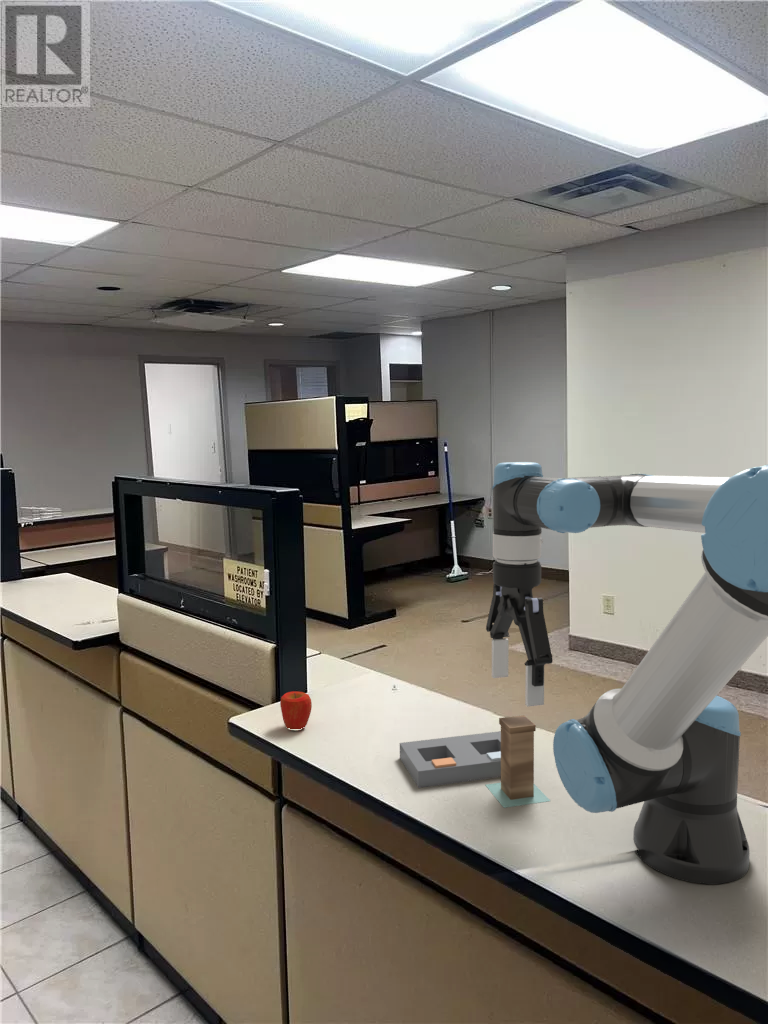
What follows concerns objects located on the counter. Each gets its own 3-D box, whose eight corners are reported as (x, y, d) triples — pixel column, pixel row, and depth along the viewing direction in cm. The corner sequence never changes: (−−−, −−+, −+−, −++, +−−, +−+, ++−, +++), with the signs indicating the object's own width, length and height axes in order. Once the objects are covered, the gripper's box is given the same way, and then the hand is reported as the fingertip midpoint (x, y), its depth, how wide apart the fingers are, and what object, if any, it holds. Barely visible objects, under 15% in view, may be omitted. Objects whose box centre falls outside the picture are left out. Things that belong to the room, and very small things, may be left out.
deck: (550, 807, 118) (550, 800, 118) (503, 814, 117) (503, 807, 116) (529, 785, 126) (529, 778, 126) (485, 791, 124) (485, 784, 124)
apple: (315, 723, 155) (315, 689, 154) (305, 735, 149) (304, 699, 148) (287, 721, 157) (286, 687, 156) (276, 732, 151) (275, 697, 150)
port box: (529, 779, 128) (529, 755, 128) (418, 794, 124) (418, 769, 123) (502, 751, 140) (502, 728, 140) (399, 764, 135) (399, 740, 135)
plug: (535, 797, 120) (535, 725, 118) (509, 800, 119) (509, 727, 117) (523, 784, 124) (524, 715, 123) (499, 788, 123) (499, 717, 122)
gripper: (577, 572, 106) (575, 715, 109) (507, 547, 130) (507, 664, 133) (528, 575, 105) (527, 721, 107) (467, 549, 129) (467, 668, 131)
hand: (516, 690), depth 120 cm, fingers open, 13 cm apart
